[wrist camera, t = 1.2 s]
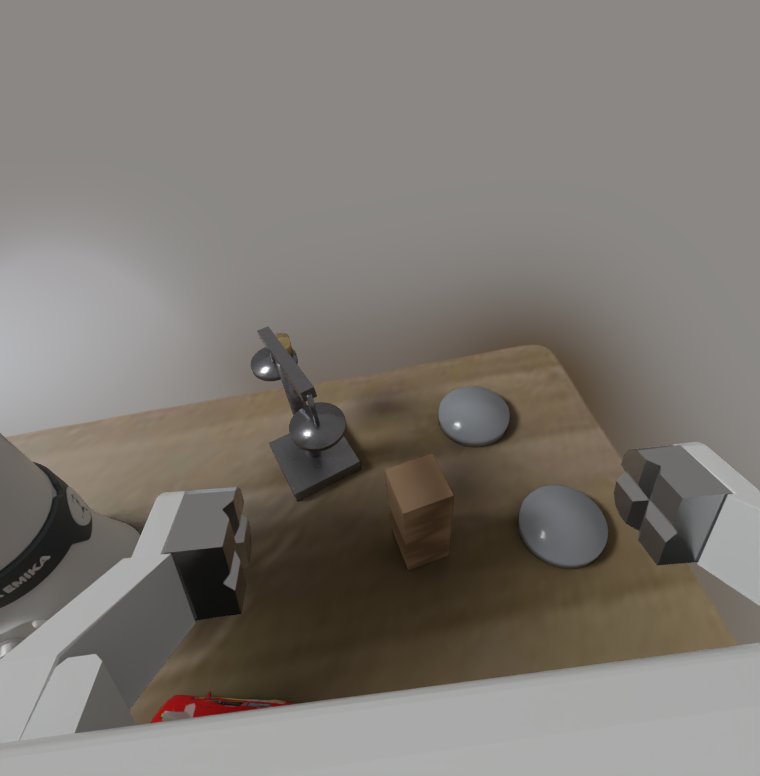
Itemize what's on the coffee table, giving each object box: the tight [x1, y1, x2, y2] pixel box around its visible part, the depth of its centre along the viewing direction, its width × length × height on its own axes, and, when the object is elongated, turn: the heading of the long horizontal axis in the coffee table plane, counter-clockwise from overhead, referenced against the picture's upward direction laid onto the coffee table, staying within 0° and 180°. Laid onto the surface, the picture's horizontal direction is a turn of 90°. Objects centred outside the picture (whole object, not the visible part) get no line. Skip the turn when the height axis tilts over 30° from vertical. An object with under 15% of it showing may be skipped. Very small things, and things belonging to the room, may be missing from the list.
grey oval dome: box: [518, 485, 608, 569], centre depth 48 cm, size 8×8×1 cm
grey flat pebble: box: [439, 386, 510, 447], centre depth 58 cm, size 8×8×1 cm
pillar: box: [384, 453, 454, 571], centre depth 44 cm, size 4×4×12 cm
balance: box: [251, 327, 361, 501], centre depth 50 cm, size 8×18×18 cm, turn 29°
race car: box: [151, 692, 294, 723], centre depth 38 cm, size 13×5×4 cm, turn 86°
